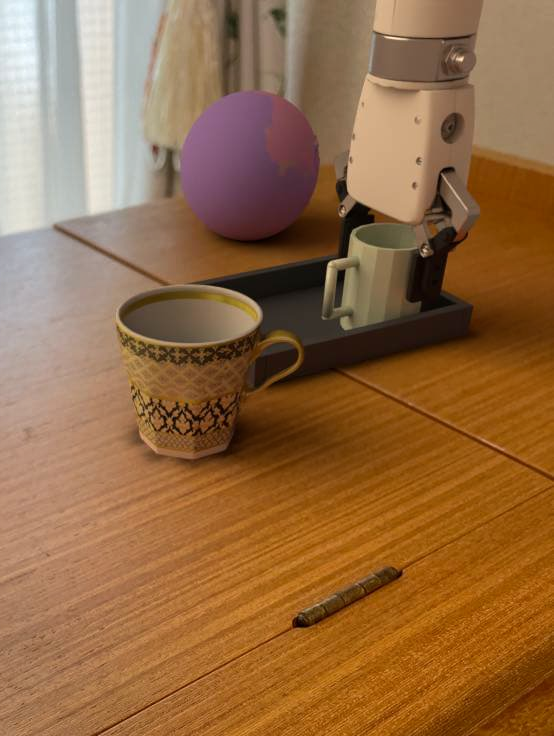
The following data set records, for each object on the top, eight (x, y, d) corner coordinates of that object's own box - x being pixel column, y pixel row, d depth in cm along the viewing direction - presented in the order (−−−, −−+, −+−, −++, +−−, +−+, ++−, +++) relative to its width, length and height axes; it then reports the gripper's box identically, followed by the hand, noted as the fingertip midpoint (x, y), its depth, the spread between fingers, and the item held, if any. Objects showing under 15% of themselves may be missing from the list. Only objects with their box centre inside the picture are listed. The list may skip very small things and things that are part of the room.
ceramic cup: (101, 464, 62) (94, 334, 56) (143, 398, 70) (141, 277, 63) (281, 493, 59) (294, 359, 53) (305, 421, 67) (318, 296, 60)
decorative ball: (320, 260, 93) (337, 107, 84) (179, 261, 93) (180, 108, 84) (304, 215, 105) (317, 76, 95) (179, 216, 105) (180, 78, 96)
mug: (385, 304, 82) (398, 218, 77) (432, 331, 77) (450, 241, 72) (298, 323, 79) (307, 235, 74) (342, 353, 74) (355, 261, 69)
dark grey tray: (358, 278, 89) (362, 248, 87) (466, 338, 77) (474, 305, 76) (166, 319, 82) (165, 287, 80) (253, 392, 70) (255, 357, 68)
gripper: (544, 73, 61) (489, 307, 71) (388, 38, 73) (361, 242, 84) (459, 84, 58) (415, 325, 69) (313, 47, 71) (295, 255, 81)
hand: (386, 279), depth 76 cm, fingers open, 9 cm apart
